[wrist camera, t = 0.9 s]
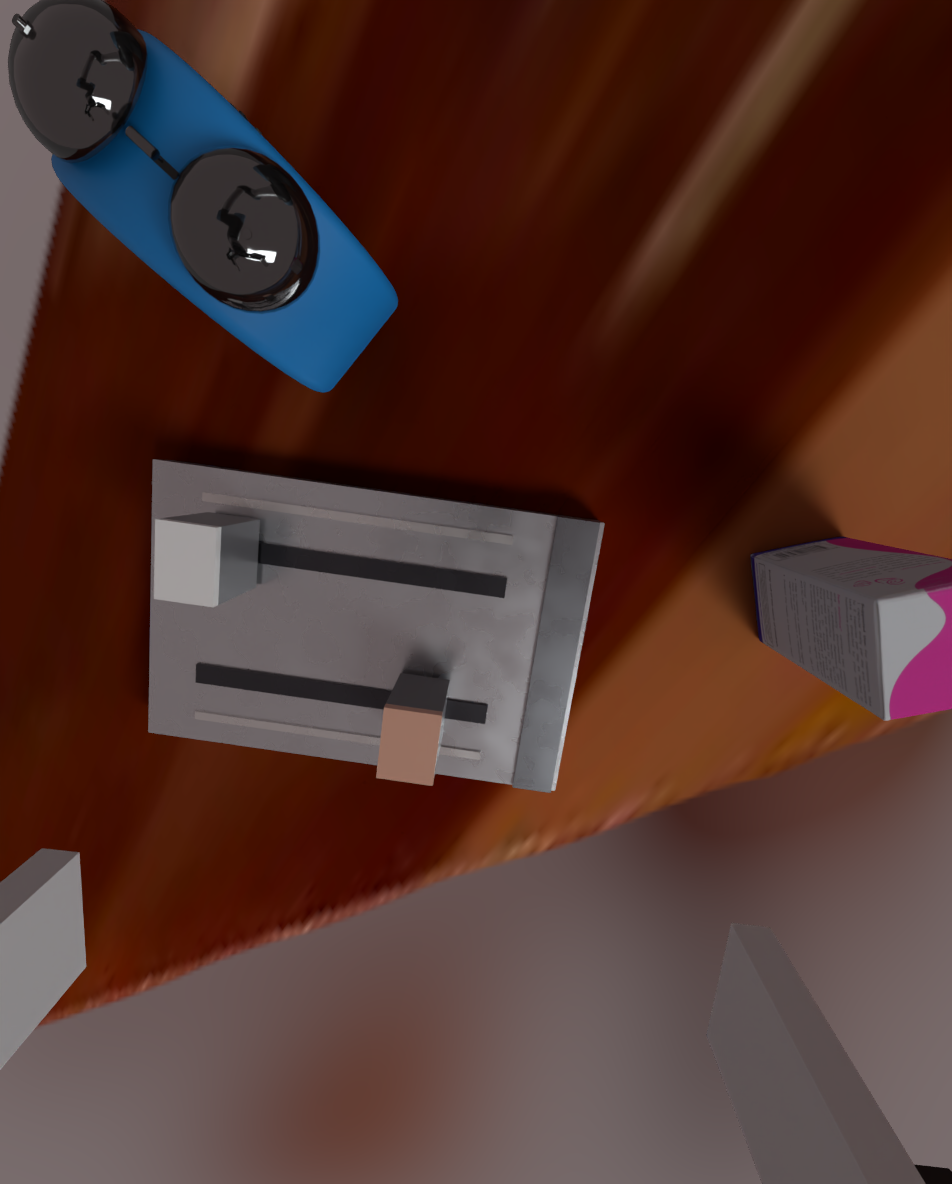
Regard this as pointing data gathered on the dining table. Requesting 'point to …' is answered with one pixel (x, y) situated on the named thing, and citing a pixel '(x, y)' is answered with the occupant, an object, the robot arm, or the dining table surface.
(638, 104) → the dining table surface
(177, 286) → the alarm clock
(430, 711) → the fader terracotta
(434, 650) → the console
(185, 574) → the fader white
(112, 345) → the dining table surface
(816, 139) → the dining table surface
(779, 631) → the supplement box
